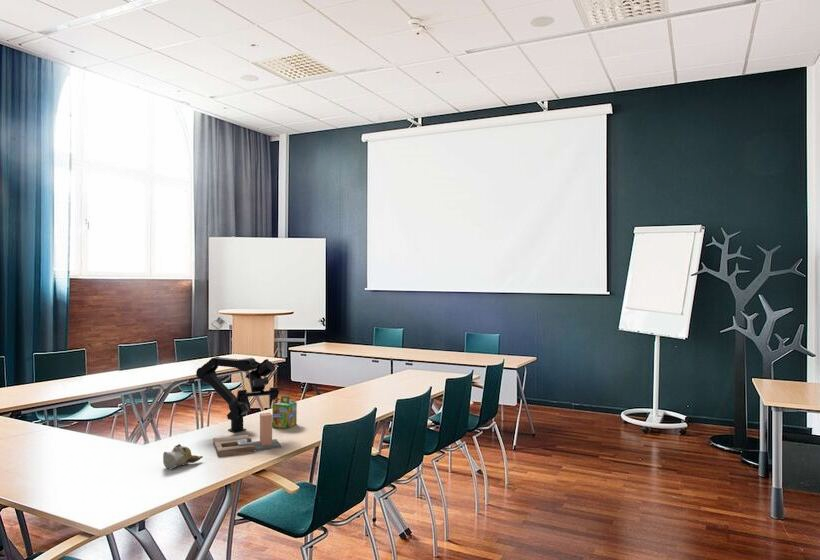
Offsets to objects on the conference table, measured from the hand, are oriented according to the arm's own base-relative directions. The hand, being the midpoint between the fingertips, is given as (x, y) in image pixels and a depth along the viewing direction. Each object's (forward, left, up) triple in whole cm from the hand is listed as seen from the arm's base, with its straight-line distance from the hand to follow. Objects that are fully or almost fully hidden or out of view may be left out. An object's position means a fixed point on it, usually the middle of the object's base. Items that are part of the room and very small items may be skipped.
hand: (260, 409), depth 265 cm
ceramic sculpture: (+11, -42, -14) cm, 45 cm away
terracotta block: (+12, -4, -13) cm, 18 cm away
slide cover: (+9, -13, -11) cm, 19 cm away
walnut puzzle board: (+5, -16, -14) cm, 21 cm away
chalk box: (-12, +20, -14) cm, 28 cm away
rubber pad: (+12, -4, -14) cm, 19 cm away
